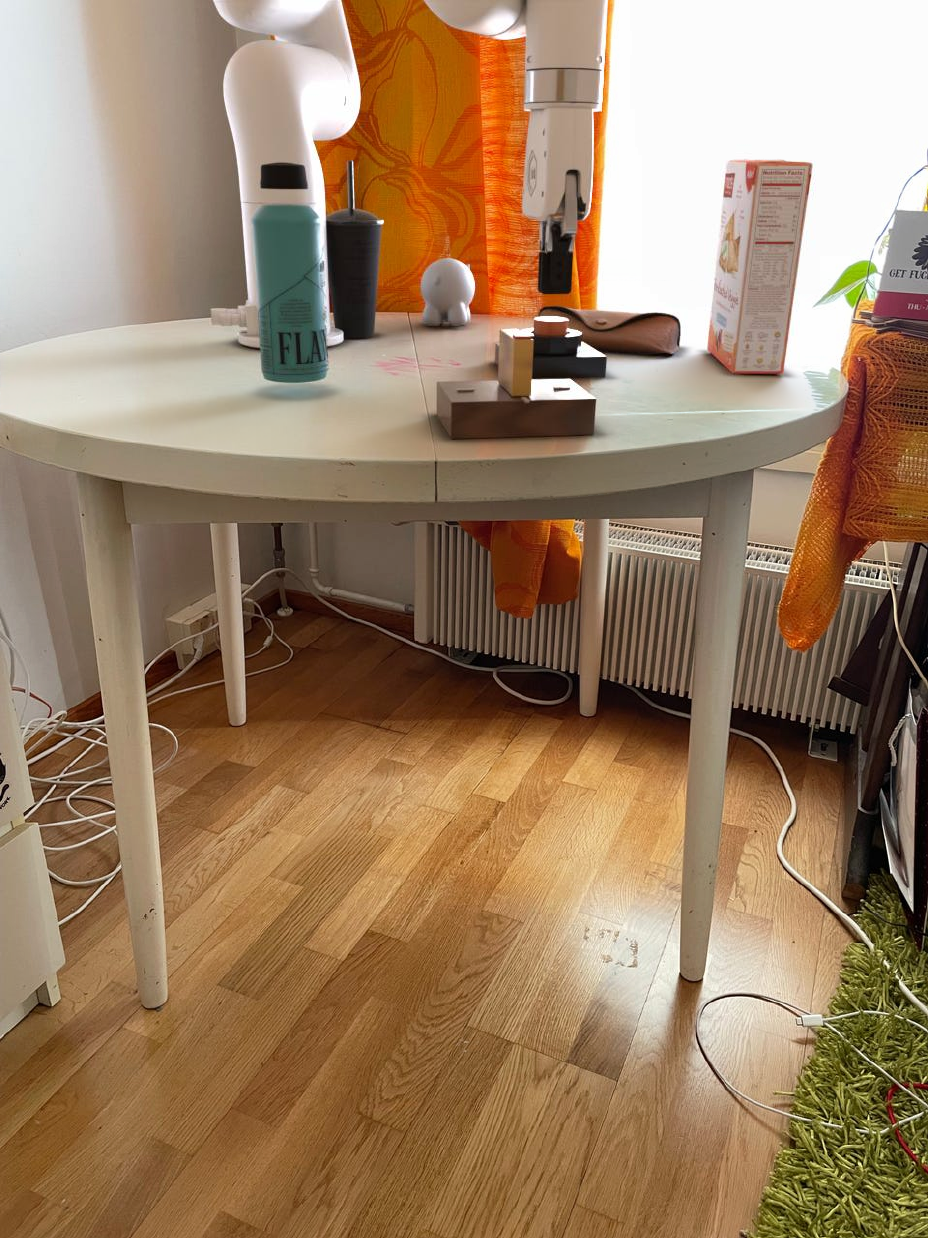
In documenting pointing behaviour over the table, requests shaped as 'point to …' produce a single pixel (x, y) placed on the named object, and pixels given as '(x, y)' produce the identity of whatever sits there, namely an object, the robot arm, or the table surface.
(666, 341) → the sunglasses case
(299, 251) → the beverage bottle
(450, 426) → the brown wooden base
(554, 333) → the bell button
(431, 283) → the round bodied animal figurine
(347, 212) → the drinking cup
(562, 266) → the robot arm
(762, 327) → the cracker box
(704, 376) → the table surface
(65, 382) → the table surface
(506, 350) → the tan cardboard box
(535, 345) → the block
